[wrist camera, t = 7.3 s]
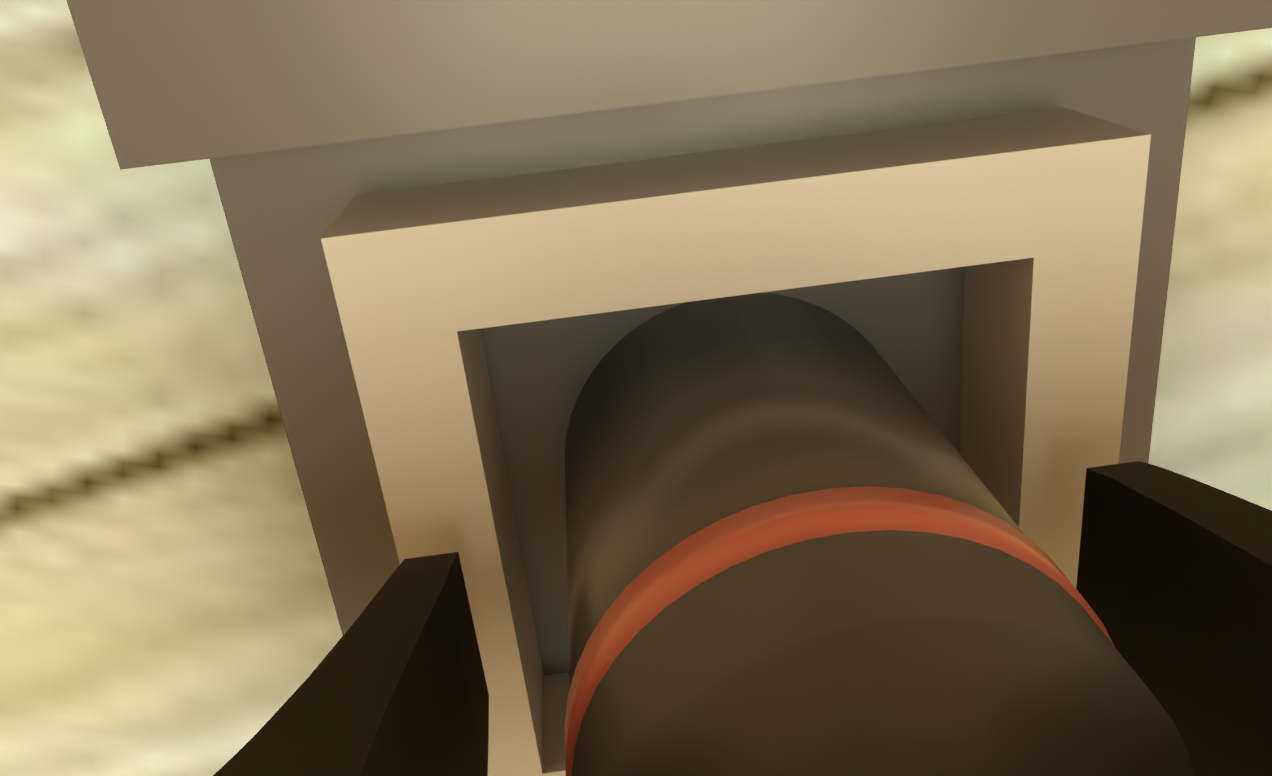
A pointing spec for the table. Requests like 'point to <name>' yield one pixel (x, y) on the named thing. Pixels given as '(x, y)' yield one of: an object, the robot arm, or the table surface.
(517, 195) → the base with square socket
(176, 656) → the table surface
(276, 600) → the table surface
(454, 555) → the robot arm
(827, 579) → the lens
